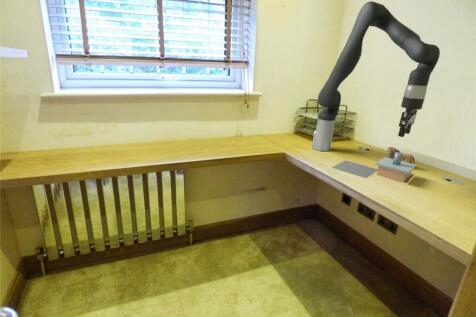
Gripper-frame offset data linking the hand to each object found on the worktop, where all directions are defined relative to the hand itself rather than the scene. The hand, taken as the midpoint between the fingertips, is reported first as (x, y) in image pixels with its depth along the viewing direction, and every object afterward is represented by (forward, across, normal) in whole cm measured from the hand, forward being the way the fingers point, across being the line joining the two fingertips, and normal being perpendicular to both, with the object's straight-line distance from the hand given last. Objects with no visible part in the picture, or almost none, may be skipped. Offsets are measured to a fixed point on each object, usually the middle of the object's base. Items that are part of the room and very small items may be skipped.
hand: (403, 134), depth 122 cm
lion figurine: (+19, -18, -2) cm, 26 cm away
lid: (+14, 0, 0) cm, 14 cm away
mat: (+19, +6, -15) cm, 25 cm away
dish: (+19, 0, 0) cm, 19 cm away
